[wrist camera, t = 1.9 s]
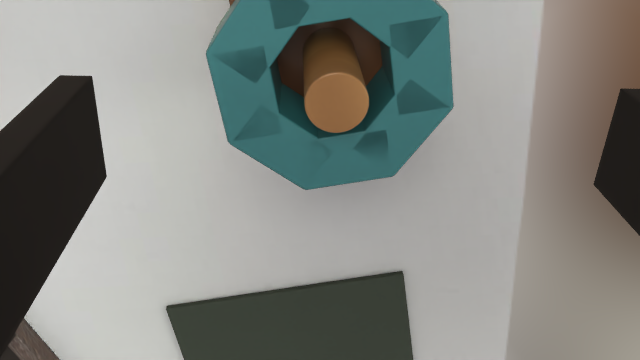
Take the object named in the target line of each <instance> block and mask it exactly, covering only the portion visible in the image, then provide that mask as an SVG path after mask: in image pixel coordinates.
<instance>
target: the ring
mask: <svg viewBox="0 0 640 360" xmlns="http://www.w3.org/2000/svg"><path fill="white" fill-rule="evenodd" d="M348 18H350V19H352V20H353V21H354V22H356V23H357V24H358V25H360V26H361V27H362V28H364V29H365V30H366V31H368V32H369V33H370V34H372V35H373V36H375V37H376V38H377V39H379V40H380V48H381V57H382V67H381V68H380V70H379V71H378V72H377V73H376V75H375V76H374V77H373V78H372V80H371V81H370V82H369V83H368V85H367V86H366V89H367V92H368V96H369V107H368V111H367V114H366V115H365V117H364V119H363V120H362V121H361V122H360V123H359V124H358V125H357V126H356V127H354V128H353V129H351V130H348V131H345V132H340V133H332V132H327V131H324V130H321V129H320V128H318V127H316V126H315V125H314V124H313V123H312V122H311V121H310V119H309V118H308V116H307V114H306V111H305V105H304V97H303V96H301V95H300V94H298V93H297V92H295V91H294V90H292V89H291V88H289V87H288V86H286V85H285V84H283V83H282V82H281V77H280V72H279V67H278V62H277V57H278V55H279V54H280V52H281V51H282V50H283V48H284V47H285V45H286V44H287V43H288V41H289V40H290V38H291V37H292V36H293V34H294V33H295V31H296V30H297V28H298V27H300V26H306V25H312V24H318V23H324V22H330V21H336V20H342V19H348ZM206 57H207V61H208V65H209V69H210V72H211V76H212V80H213V84H214V88H215V92H216V96H217V100H218V104H219V108H220V112H221V116H222V120H223V124H224V128H225V132H226V136H227V140H228V142H229V143H230V144H231V145H232V146H234V147H236V148H237V149H239V150H240V151H242V152H244V153H245V154H247V155H249V156H250V157H252V158H253V159H255V160H257V161H258V162H260V163H262V164H263V165H265V166H267V167H268V168H270V169H271V170H273V171H275V172H276V173H278V174H280V175H281V176H283V177H284V178H286V179H288V180H289V181H291V182H293V183H294V184H296V185H298V186H299V187H301V188H302V189H305V190H309V189H315V188H322V187H328V186H335V185H341V184H348V183H354V182H360V181H367V180H373V179H380V178H386V177H392V176H394V175H395V174H396V173H397V172H398V170H399V169H400V168H401V167H402V166H403V165H404V164H405V162H406V161H407V160H408V159H409V158H410V157H411V156H412V154H413V153H414V152H415V151H416V150H417V149H418V148H419V146H420V145H421V144H422V143H423V142H424V141H425V140H426V138H427V137H428V136H429V135H430V134H431V133H432V131H433V130H434V129H435V128H436V127H437V126H438V125H439V123H440V122H441V121H442V120H443V119H444V118H445V117H446V115H447V114H448V113H449V112H450V111H451V110H452V108H453V90H452V72H451V55H450V37H449V19H448V13H447V12H446V10H445V9H444V8H443V7H442V6H441V5H440V4H439V3H438V2H437V1H436V0H235V1H234V2H233V4H232V5H231V7H230V8H229V10H228V11H227V13H226V14H225V16H224V18H223V19H222V21H221V22H220V24H219V25H218V27H217V29H216V31H215V34H214V36H213V38H212V40H211V42H210V45H209V47H208V49H207V51H206Z"/></svg>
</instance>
